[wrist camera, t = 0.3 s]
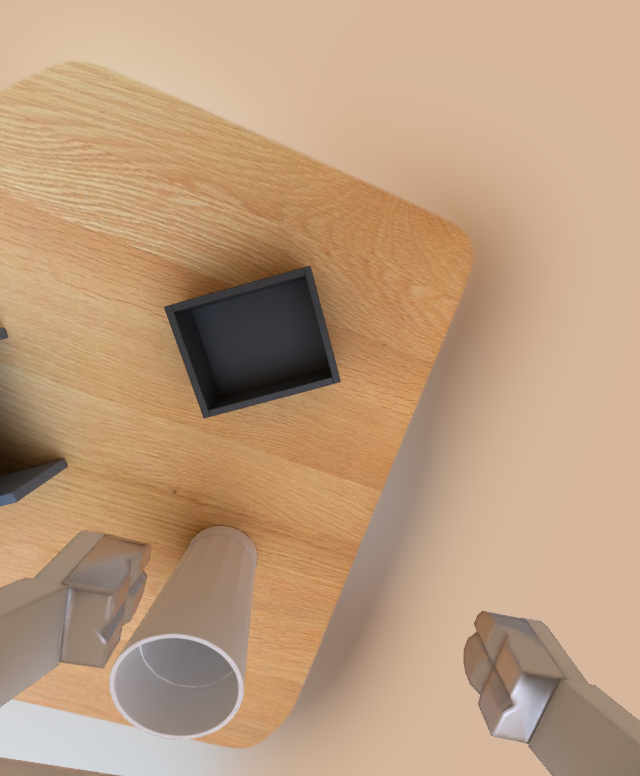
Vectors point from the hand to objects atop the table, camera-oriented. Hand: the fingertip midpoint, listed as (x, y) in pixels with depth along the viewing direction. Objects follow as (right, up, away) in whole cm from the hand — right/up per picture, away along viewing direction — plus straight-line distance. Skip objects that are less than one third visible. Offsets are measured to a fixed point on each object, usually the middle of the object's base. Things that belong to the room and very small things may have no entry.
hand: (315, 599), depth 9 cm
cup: (-9, -10, +26) cm, 29 cm away
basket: (-4, +9, +21) cm, 23 cm away
